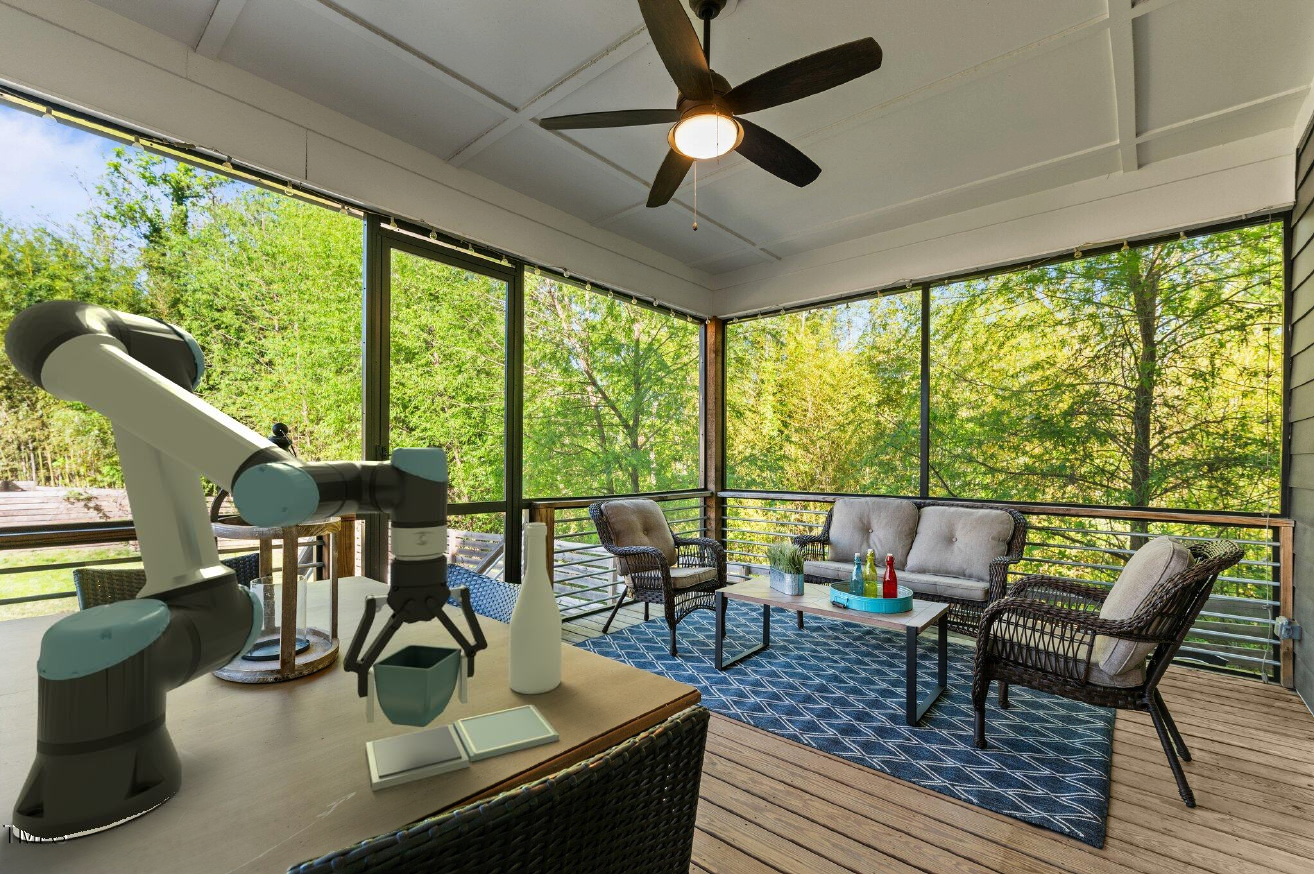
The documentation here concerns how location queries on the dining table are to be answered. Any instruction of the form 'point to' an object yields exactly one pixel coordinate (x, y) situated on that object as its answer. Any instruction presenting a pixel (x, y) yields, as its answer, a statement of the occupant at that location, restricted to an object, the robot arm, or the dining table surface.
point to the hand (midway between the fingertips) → (417, 709)
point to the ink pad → (414, 756)
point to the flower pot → (416, 683)
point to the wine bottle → (535, 624)
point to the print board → (503, 732)
